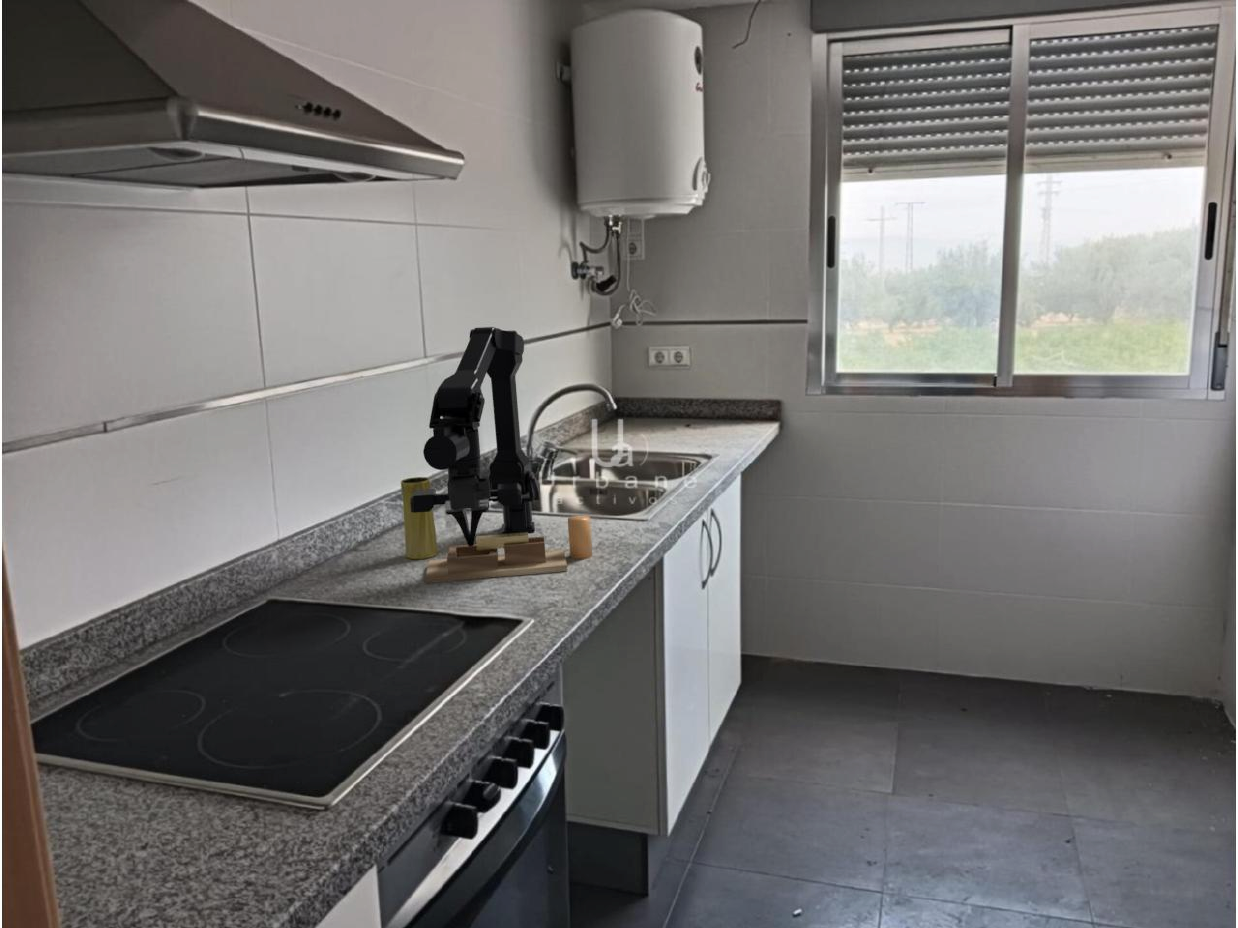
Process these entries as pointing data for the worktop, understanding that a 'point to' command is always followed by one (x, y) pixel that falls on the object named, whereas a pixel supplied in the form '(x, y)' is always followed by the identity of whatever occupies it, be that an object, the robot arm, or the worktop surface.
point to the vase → (418, 522)
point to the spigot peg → (580, 537)
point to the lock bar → (500, 540)
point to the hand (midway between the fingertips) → (470, 545)
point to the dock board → (496, 562)
